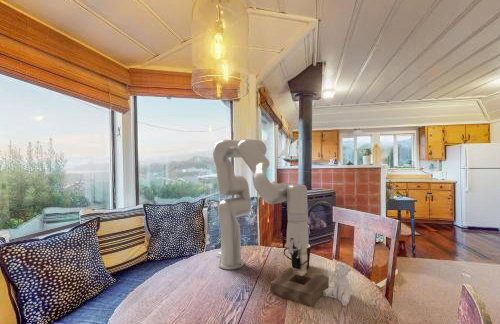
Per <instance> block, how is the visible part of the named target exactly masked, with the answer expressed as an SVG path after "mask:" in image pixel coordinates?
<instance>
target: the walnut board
mask: <svg viewBox="0 0 500 324" xmlns="http://www.w3.org/2000/svg"><path fill="white" fill-rule="evenodd" d="M329 278H330V277H329V276H327V275H324V274H321V273H320V274H319V273H316V272H311V271H308V270H307V273H305V274H304V275H303V276H300V275H296V274H293V267H292V266H290V267H289V268H288V269H287V270H285V271H283V273H281V274H279V276H277V277H276V278H274V279H273V280H272V281H270V294H272V295H276V296H278V297H281V298H285V299H286V300H290V301H293V302H295V303H299V304H302V305H305V306H307V307H310V308H312V307H313V306H314V305H316V303H317V302H318V300H319V299H320V298H321V297H323V296H324V295H323V290H325V289H327V288H330V286H329V283H330V282H329V281H330V280H329Z"/></svg>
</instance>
